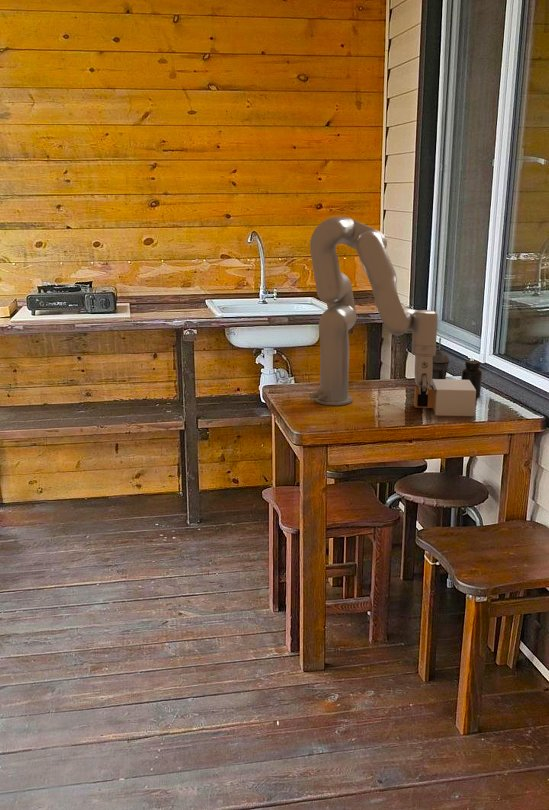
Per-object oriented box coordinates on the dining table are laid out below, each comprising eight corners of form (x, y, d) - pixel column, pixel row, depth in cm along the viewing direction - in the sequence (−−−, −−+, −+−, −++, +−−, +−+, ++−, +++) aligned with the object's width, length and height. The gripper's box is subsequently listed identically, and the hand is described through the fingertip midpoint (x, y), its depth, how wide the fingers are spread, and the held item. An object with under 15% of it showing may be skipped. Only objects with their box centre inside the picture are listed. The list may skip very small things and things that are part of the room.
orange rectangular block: (453, 408, 240) (454, 390, 238) (415, 407, 241) (415, 389, 240) (451, 404, 244) (452, 387, 242) (414, 404, 245) (414, 386, 243)
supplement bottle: (461, 398, 256) (463, 363, 253) (458, 392, 263) (461, 359, 259) (481, 398, 255) (484, 364, 252) (479, 393, 262) (481, 359, 259)
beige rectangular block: (474, 416, 235) (476, 390, 233) (432, 415, 236) (434, 389, 234) (467, 404, 248) (469, 379, 246) (428, 403, 250) (429, 379, 247)
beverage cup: (445, 391, 265) (449, 335, 259) (448, 396, 258) (452, 339, 252) (424, 391, 265) (427, 335, 260) (426, 396, 258) (430, 338, 253)
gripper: (438, 355, 229) (435, 410, 234) (432, 344, 246) (430, 396, 251) (413, 355, 230) (411, 409, 235) (409, 344, 247) (407, 395, 251)
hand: (421, 402), depth 243 cm, fingers open, 8 cm apart
